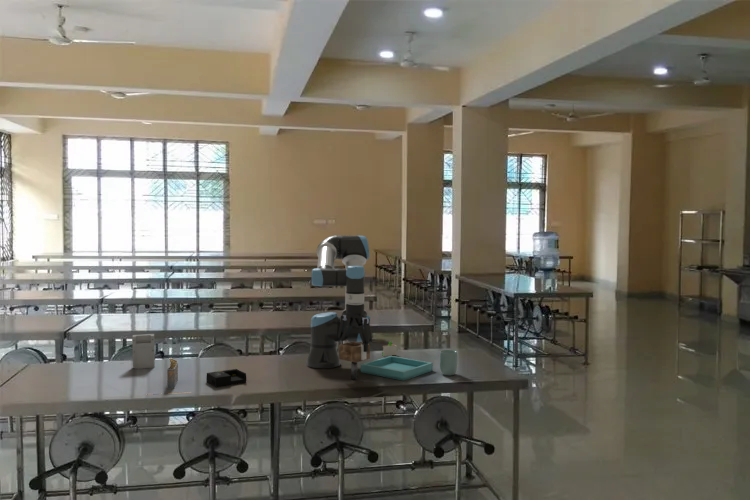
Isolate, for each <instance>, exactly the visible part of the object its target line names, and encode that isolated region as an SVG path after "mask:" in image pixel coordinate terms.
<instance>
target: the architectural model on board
mask: <svg viewBox="0 0 750 500" xmlns="http://www.w3.org/2000/svg"><path fill="white" fill-rule="evenodd" d="M168 360H169V366H168V368H167V369H166V371H167V372H166V374H167V376H166V379H167V380H166V381H167V382H166V384H167V385H166V389H167V390H170V389H171V390H172V389H175V387H176V385H177V383H178V381H179V362H178V360H177V359H174V358H171V357H170V358H169V359H168ZM162 393H163V392H161V394H160V395H163V394H162ZM167 393H168V394H167V395H170V394H172V395H175V394H176V395H177V394H178V392H167ZM191 393H192V391H189V392H188V391H186V392H185V391H184V392H180V394H191ZM147 394H148V395H151V396H152V393H145V395H146V396H148V395H147Z"/></svg>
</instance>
